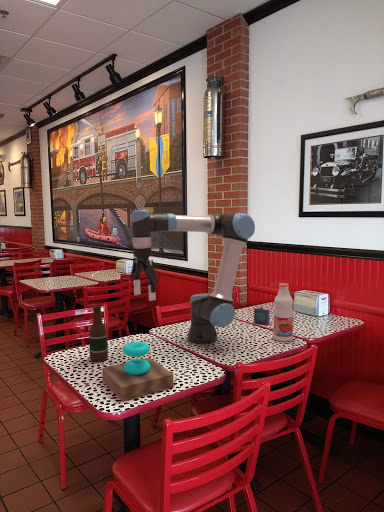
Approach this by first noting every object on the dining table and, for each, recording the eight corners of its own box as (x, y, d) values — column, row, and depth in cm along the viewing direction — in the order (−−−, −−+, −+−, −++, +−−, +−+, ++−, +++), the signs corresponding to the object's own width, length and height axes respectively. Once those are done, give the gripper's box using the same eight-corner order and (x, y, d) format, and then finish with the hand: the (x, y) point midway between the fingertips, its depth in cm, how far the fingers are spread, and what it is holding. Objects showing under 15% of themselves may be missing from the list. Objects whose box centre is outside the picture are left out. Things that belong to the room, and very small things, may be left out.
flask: (270, 324, 223) (270, 305, 222) (268, 325, 220) (268, 307, 219) (254, 322, 228) (254, 304, 226) (252, 323, 225) (253, 305, 224)
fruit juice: (284, 334, 204) (285, 281, 201) (296, 340, 195) (297, 284, 192) (269, 337, 200) (270, 283, 196) (281, 343, 191) (282, 286, 188)
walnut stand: (149, 369, 161) (149, 357, 160) (173, 387, 144) (173, 374, 143) (102, 380, 150) (102, 367, 150) (122, 401, 134) (121, 387, 133)
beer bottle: (88, 357, 174) (86, 304, 172) (106, 355, 177) (104, 303, 174) (90, 363, 167) (88, 308, 164) (109, 361, 170) (107, 306, 167)
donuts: (152, 341, 150) (146, 350, 140) (153, 366, 151) (146, 377, 141) (127, 340, 151) (119, 349, 141) (128, 365, 152) (119, 375, 142)
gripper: (121, 246, 171) (124, 293, 174) (148, 250, 151) (151, 304, 153) (136, 244, 175) (139, 291, 178) (165, 248, 155) (167, 301, 157)
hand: (144, 297), depth 166 cm, fingers open, 13 cm apart
